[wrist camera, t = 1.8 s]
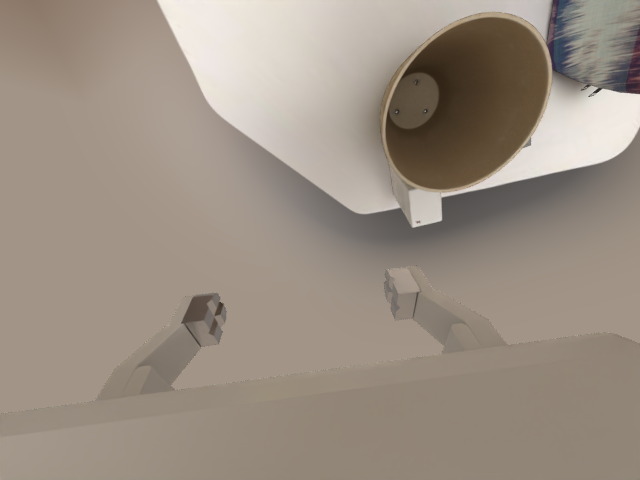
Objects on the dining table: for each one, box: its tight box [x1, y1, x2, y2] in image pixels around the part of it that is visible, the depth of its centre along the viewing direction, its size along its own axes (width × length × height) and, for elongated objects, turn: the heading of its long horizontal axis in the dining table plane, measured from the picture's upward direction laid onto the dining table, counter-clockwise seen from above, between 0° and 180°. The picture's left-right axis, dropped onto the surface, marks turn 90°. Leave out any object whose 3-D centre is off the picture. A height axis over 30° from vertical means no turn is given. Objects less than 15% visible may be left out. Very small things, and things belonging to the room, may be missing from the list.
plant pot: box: [380, 12, 552, 192], centre depth 29 cm, size 15×15×16 cm
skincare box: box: [389, 164, 442, 228], centre depth 37 cm, size 6×4×12 cm
